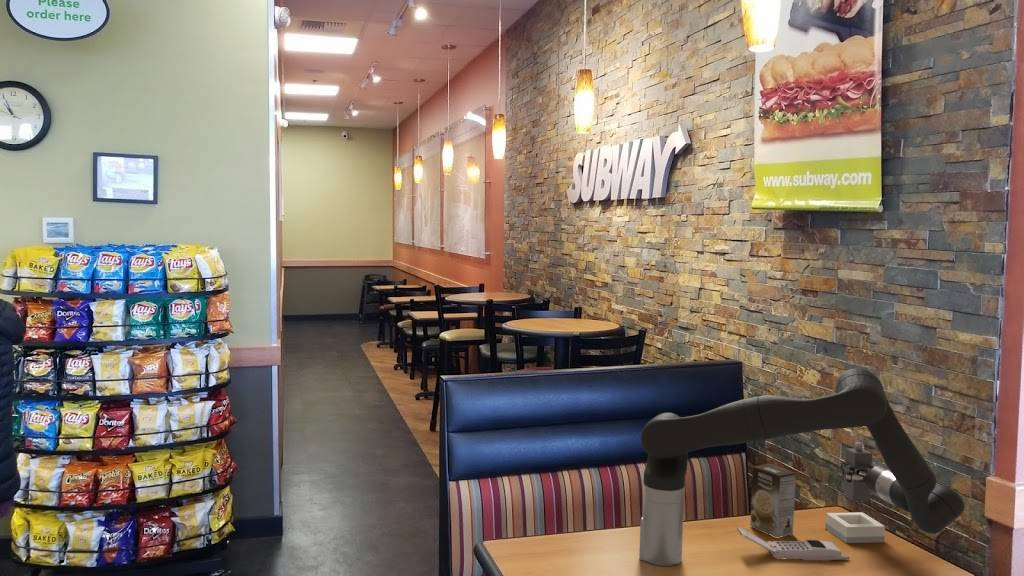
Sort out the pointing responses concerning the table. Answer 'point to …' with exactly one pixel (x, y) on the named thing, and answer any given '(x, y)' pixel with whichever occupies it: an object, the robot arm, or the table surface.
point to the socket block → (855, 527)
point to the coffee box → (773, 499)
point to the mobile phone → (798, 548)
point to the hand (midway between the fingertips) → (852, 465)
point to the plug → (854, 458)
